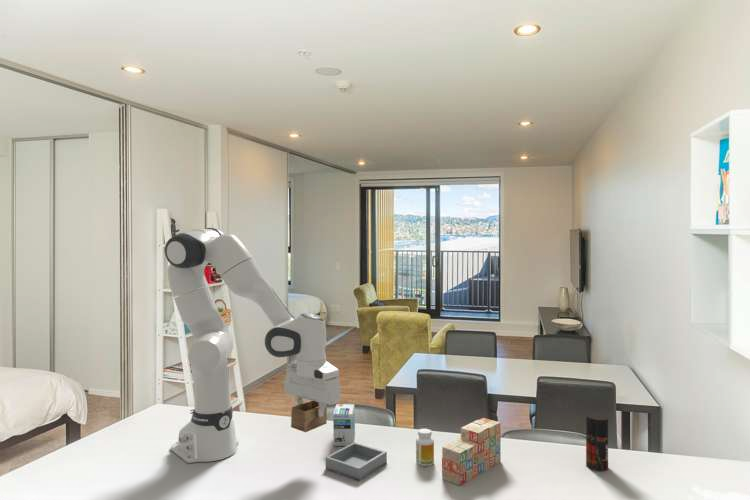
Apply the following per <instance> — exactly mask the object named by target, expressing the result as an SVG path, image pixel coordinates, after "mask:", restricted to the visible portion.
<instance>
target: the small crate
mask: <svg viewBox="0 0 750 500" xmlns="http://www.w3.org/2000/svg"><path fill="white" fill-rule="evenodd" d="M319 408H320V406H319V402H316V401H312V400H309V401H305V402H303V403H302V404H299V405H298V404H296V405H294V406H291V412H290V415H291V416H290V427H291V428H292V429H295V430H296V431H297V430H298V431H301V432H303V433H307V432H309V431H312V430H314V429H317V428H320V427H321V426H324V425H327V417H328V415H327V414H328V405H326V407H325V409H324V415H323V416H322V417H318V416H316V410H319Z"/></svg>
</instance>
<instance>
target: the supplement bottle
mask: <svg viewBox="0 0 750 500" xmlns="http://www.w3.org/2000/svg"><path fill="white" fill-rule="evenodd" d="M432 433H433V432H432V430H431V429H428V428H420V429H418V432H417V435H418V436H417V438H416V440H415V454H416V455H415V462H416V464H417V465H419V466H422V467H430V466H432V465H434V464H435V463H434V462H435V442H434V441H435V439H434V438H433V437H432V435H433V434H432Z"/></svg>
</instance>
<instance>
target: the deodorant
mask: <svg viewBox="0 0 750 500" xmlns="http://www.w3.org/2000/svg"><path fill="white" fill-rule="evenodd" d="M585 431H586V432H585V463H586V464H585V467H587V468H588V469H589V470H592V471H594V472H606V471H608V470H609V417H608V416H607V415H606V414H602V413H598V412H590V413H589V412H588V413H586V415H585Z"/></svg>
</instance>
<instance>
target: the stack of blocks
mask: <svg viewBox="0 0 750 500" xmlns="http://www.w3.org/2000/svg"><path fill="white" fill-rule="evenodd" d="M501 435H502V433H501V422H500V421H497V420H493V419H492V420H491V419H489V418H486V417H482V418H479V419H476V420H474V421H472V422H470V423H468V424H466V425H464V426H462V427H460V438H458V439H456V440H454V441H452V442H449V443H447V444H445V445H443V446H442V449H441V450H442V451H441V453H442V455H441V456H442V457H441V478H442V479H443V480H445V481H447V482H449V483H453V484H454V485H457V486H461V485H463V484H464V483H467V482H469V481H470V480H472V479H473V478H475V476H476V477H478V476H479V475H480V474H482V473H484V472H486V471H487V470H489V469H491V468H493V467H494V466H496V465H497V464H500V463H501V462H502V461H501V458H502V456H501V455H502V454H501V441H502V440H501V437H502V436H501Z"/></svg>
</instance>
